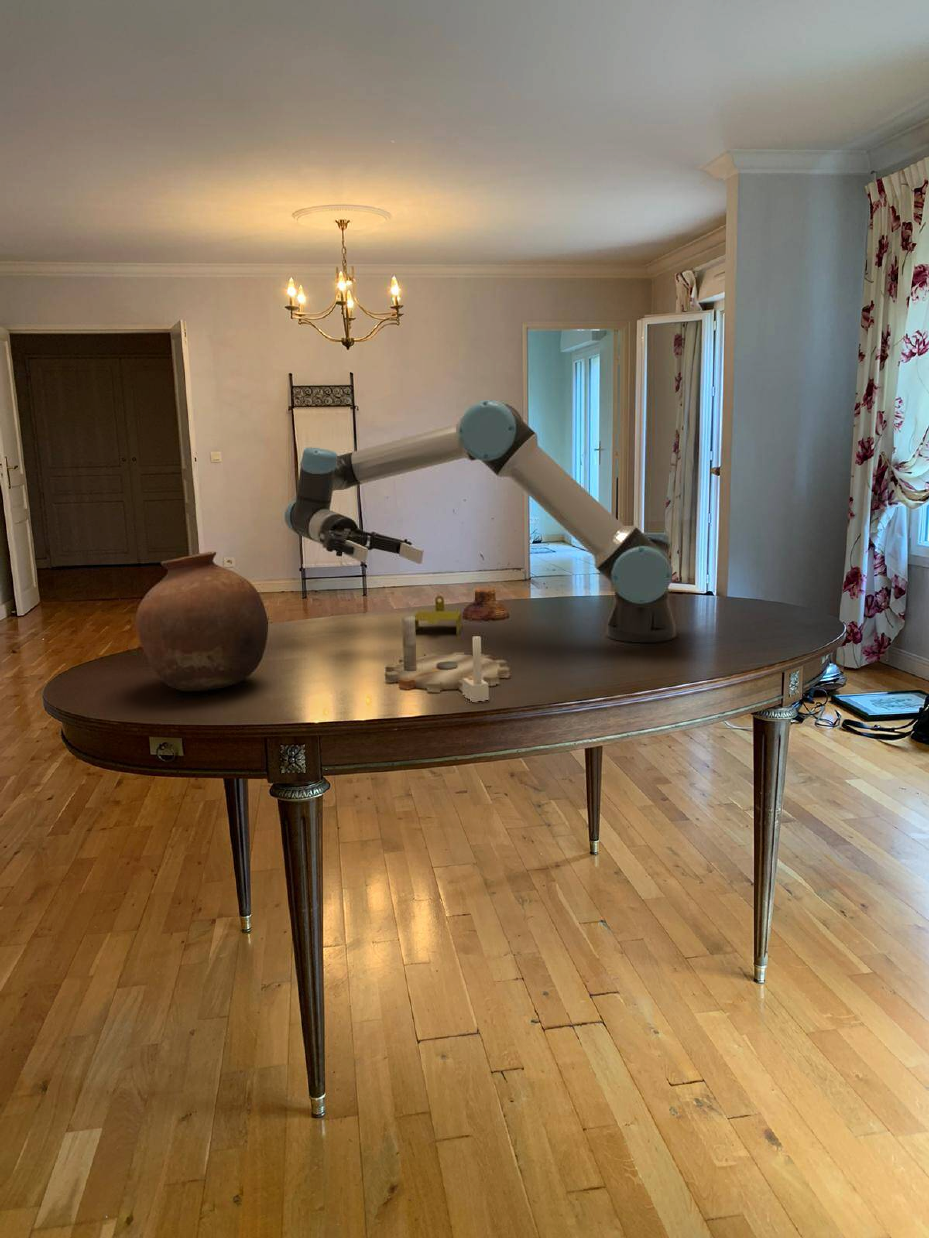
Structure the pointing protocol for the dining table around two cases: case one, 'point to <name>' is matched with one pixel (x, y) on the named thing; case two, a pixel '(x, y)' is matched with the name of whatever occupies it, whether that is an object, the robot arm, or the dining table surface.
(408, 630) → the sprocket
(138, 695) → the dining table surface
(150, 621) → the pottery
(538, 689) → the dining table surface
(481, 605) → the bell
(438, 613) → the bracket
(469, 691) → the index post
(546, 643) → the dining table surface
